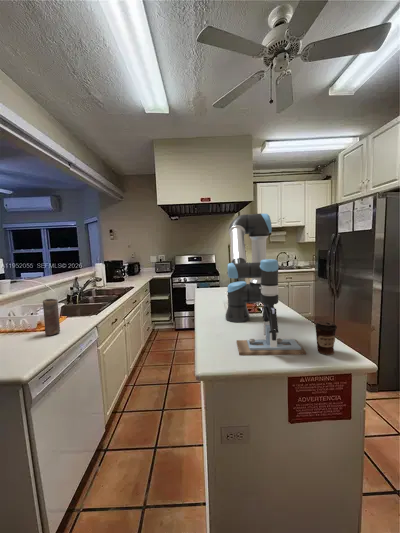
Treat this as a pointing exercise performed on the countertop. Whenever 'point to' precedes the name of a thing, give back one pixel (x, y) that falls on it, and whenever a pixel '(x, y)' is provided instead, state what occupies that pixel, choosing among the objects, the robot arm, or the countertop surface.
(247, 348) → the boss board
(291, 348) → the panel
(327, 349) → the coffee cup
